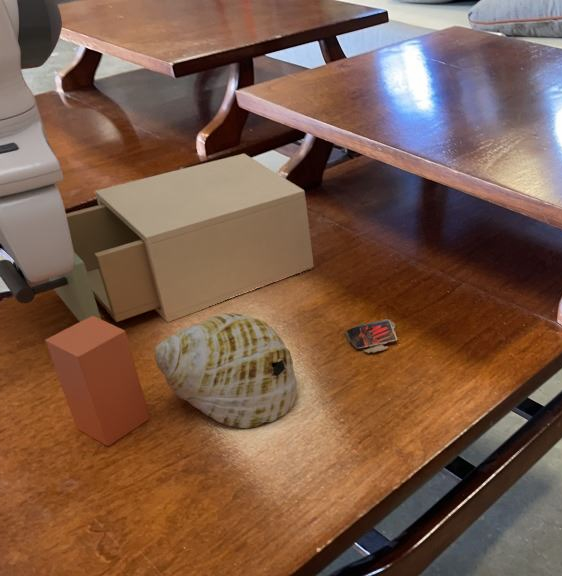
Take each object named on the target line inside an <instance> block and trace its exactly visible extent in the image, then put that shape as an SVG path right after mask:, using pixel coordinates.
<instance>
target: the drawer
mask: <svg viewBox="0 0 562 576" xmlns="http://www.w3.org/2000/svg"><path fill="white" fill-rule="evenodd" d="M66 217H67V221H68V226H69V230H70V235H71V240H72V245H73V249H74V256H75V261H74V267H73V270H72V271H70V272H67V273H65V274H62V275H59V276H55V277H52V278H49V282H47V283H43V284H40V285H37V286H34V287H32V288H31V287H30V286H29V284H28V283H27V282H26V281H25V279H24V278H23V277H22V275H21V274H20V273H19V271H18V270H17V267H16V264H15V262H14V261H13V262H12V261H11V260H9V259H1V260H0V278H1V280H2V281H3V283H4V284H5V286H6V287H7V288H8V290H9V292H10V293H11V294H12V296H13V297H14V298H15V300H16V301H17V302H18V303H21V304H29V303H31V302H32V301H33V300H34V299H35V296H36V295H39V294H42V293H45V292H49V291H52V290H53V291H54V292H55V293H56V295H57V296H58V297H59V298H60V299H61V301H62V302H63V304H65V305H66V307H67V308H68V309H69V310H70V312H71V314H72V315H73V316H74V317H75V318H76V319H77V321H78V323H79V322H81V321H83V320H85V319H87V318H89V317H91V316H95V317H97V318H99V319H101V320H102V318H101V314H100V311H99V307H98V304H97V302H98V303H99V304H100V305H101V307H102V308H103V309H104V310H105V311H106V312H107V313H108V315H109V316H110V317H111V318H112V319H113V320H114V321H115V322H116V323H118V322H121V321H125V320H127V319H129V318H132V317H136V316H138V315H141V314H144V313H146V312H150V311H153V310H155V308H158V307H161V305H160V301H159V297H158V293H157V289H156V285H155V282H154V278H153V274H152V270H151V266H150V262H149V258H148V254H147V250H146V246H145V241H143V240H142V239H141V238H140V237H139V236H138V235H137V234H136V233H135V232H134V231H133V230H131V229H130V228H129V227H128V226H127V225H126V224H125V223H124V222H123V221H122V220H121V219H120V218H118V217H117V216H116V215H115V214H114V213H113V212H112V211H111V210H110V209H109V208H108V207H107V206H105V205H104V204H102V205H98V204H97V205H93V206H91V207H87V208H82V209H80V210H75V211H71V212H68V213H66Z"/></svg>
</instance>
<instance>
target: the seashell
mask: <svg viewBox="0 0 562 576" xmlns="http://www.w3.org/2000/svg"><path fill="white" fill-rule="evenodd" d="M154 359H155V361H156V362H155V363H156V366H157V368H158V369H159V371H160V372H161V373H162V374H163V375H164V377H165V380H166V382H167V384H168V386H169V388H170V389H171V391H172V392H173V393H174V394H175V395H176V397H178V398H180V399H181V400H184V401H186V402H188V404H189V405H191V406H193V407H194V408H196V409H198V410H199V411H200V412H201V413H203V414H205V415H206V416H208V417H210V418H212V419H213V420H215V421H217V422H219V423H221V424H223V425H225V426H228V427H229V426H230V427H233V428H241V429H243V428H244V429H250V428H251V429H252V428H256V427H258V426H260V425H262V424H263V423H272V422H274V421H276V420H279V419H281V418H282V417H283V416H284V415H286V414H287V413H288V412H289V411H290V410H291V408H292V407H293V406H294V404H295V401H296V398H297V394H298V384H297V383H298V381H297V377H296V375H295V374H296V373H295V369H294V363H293V357H292V354H291V352H290V350H289V349H288V348H287V347H286V345H285V342H284V339H282V338H281V337H280V335H279V333H278V332H276V330H274V328H272V326H270V325H269V324H268V323H267V322H266V321H263V320H261V319H259V318H255V317H252V316H250V315H249V316H248V315H244V314H239V313H231V312H230V313H222V314H219V315H215V316H212V317H209V318H207V319H205V320H204V321H201V322H198V323H196V324H194V325H192V326H189V327H186V328H183V329H181V330H178V331H177V332H176V333H174V334H172V335H171V336H169V337H166V338H164V339H163V340H162V341H161V342H160V343H158V344H157V345H155V348H154Z"/></svg>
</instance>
